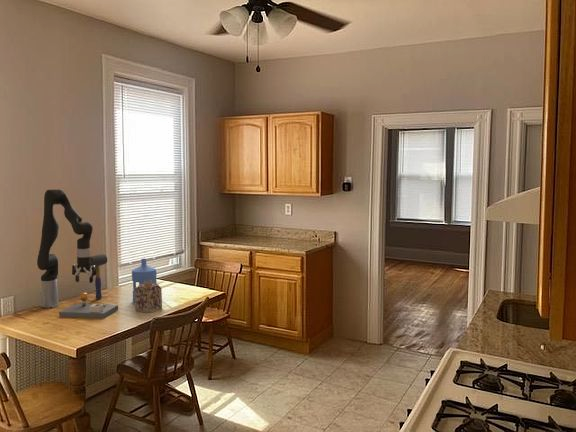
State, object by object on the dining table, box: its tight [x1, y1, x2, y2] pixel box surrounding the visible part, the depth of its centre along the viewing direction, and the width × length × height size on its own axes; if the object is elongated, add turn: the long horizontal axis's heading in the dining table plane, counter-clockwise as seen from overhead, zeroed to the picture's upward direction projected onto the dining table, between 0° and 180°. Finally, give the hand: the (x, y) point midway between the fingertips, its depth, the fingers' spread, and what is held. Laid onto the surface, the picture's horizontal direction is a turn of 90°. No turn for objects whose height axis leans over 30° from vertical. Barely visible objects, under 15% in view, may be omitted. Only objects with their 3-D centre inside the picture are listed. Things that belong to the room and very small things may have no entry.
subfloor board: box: [58, 303, 119, 319], centre depth 305 cm, size 28×18×3 cm, turn 82°
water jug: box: [131, 258, 158, 304], centre depth 331 cm, size 16×16×28 cm
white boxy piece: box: [90, 303, 104, 312], centre depth 299 cm, size 6×5×4 cm
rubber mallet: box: [90, 253, 108, 300], centre depth 337 cm, size 12×8×30 cm, turn 152°
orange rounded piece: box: [79, 291, 89, 306], centre depth 310 cm, size 4×4×8 cm
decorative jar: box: [134, 281, 163, 314], centre depth 311 cm, size 12×12×18 cm
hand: (84, 282), depth 303 cm, fingers open, 8 cm apart
